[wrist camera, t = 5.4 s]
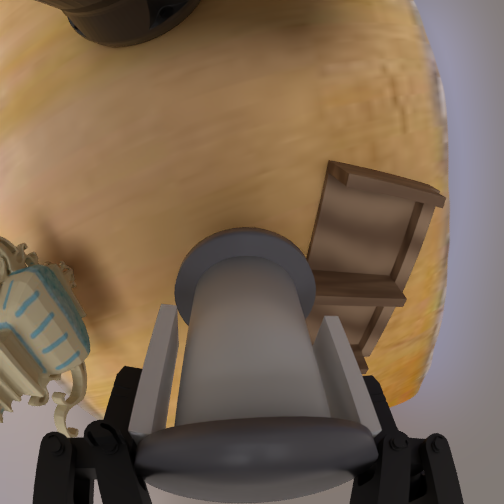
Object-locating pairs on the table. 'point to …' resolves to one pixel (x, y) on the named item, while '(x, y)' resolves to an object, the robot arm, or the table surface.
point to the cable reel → (250, 382)
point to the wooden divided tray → (366, 249)
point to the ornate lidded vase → (39, 333)
